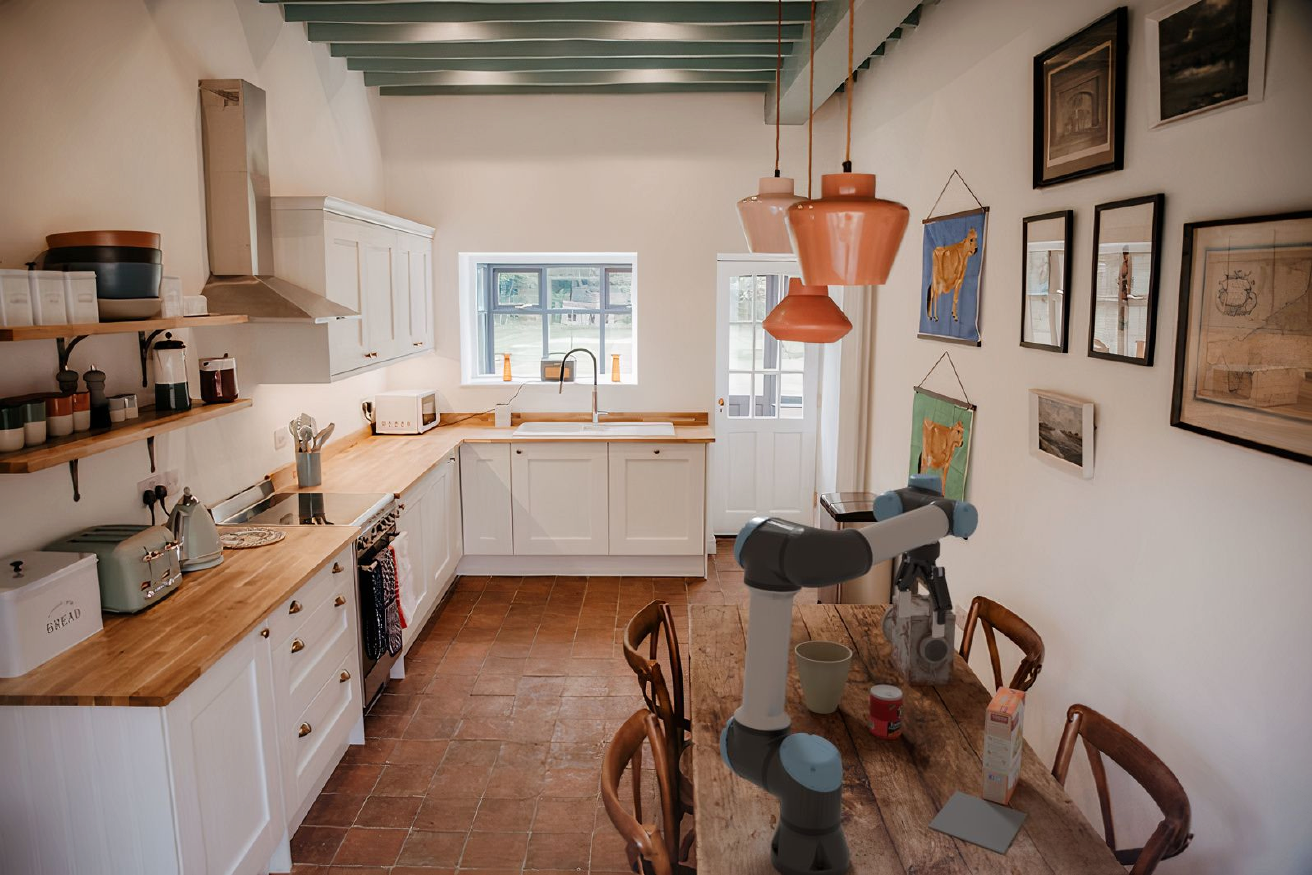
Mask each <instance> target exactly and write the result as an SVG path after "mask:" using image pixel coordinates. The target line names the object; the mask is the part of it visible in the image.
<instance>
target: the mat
mask: <svg viewBox="0 0 1312 875" xmlns="http://www.w3.org/2000/svg"><path fill="white" fill-rule="evenodd" d="M1027 817H1028V813H1025V812H1022V811H1019V810H1016V809H1013V808H1010V807H1007V806H1005V805H1002V804H999V803H996V802H992V801H989V800H986V799H982V798H981V797H976V796H973V795H970V794H967V793H964V792H961V791H959V790H955V791H954V793H953V794H952V796H951V797H950V798H949V799H948V800H947V802H945V804H944V805H943V807H942V808H941V809H940V811H939V812H938V813H937V814H936V816H935V817H934V818H933V820H932V821H931V822H930V824H929V825H928V828H929V829H932V830H934V831H937V832H940V833H943V834H946V835H948V836H951V837H954V838H956V839H959V840H962V841H964V842H967V843H970V844H973V845H976V846H979V847H981V848H985V849H987V850H989V851H993V852H996V853H998V854H1001V855H1005V853H1006V852H1007V850H1008V848H1009V846H1010V845H1011V843H1012V842H1013V840H1014V838H1015V837H1016V835H1017V833H1018V832H1019V831H1020V829H1021V827H1022V825H1023V823H1024V821H1025V820H1026V818H1027Z"/></svg>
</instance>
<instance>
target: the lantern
mask: <svg viewBox="0 0 1312 875" xmlns="http://www.w3.org/2000/svg"><path fill="white" fill-rule="evenodd" d="M931 579H933V577H932V578H931ZM919 584H920V585H921V586H922V587H923V588H925V590H926V591H928V588H927V585H926V584H924V583H923V580H921V579H920V578H916V580H915V581H914V582H913V584H912V585H911V586H910V587H911V589H908V590H910V591H911V610H910V617H905V618H900V617H899V594H898V595H893V596H892V605H890V606H889V607H888V608H887V609H886V611H885V612H884V614H883V615H882V616H883V617H882V620H881V622H880V627H881V630H882V634H883V636H884V637H885V639H886V640H887V641H888V642H889V643H890V644H891V646H890V647H891V649H890V663H892V665H893V667H894V668H895V669H896V671H897V672H898V673H899V675H900V677H902V679H903V680H904V681H905V683H906V684H907V686H908V687H935V686H937V687H938V686H939V687H940V686H953V684H954V682H953V681H954V663H955V662H954V660H955V659H954V658H955V636H956V622H957V615H956V614H955V613H954V612H953V611H952V610H948V611H946V621H945V626H944V637H937V638H933V637H932V626H933V610H934V609H935V606H934V604H933V601H932V598H931V596H930V593H929V592H928V594H921V593H919ZM908 590H907V591H908ZM939 606H940V604H939Z"/></svg>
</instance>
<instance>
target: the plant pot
mask: <svg viewBox="0 0 1312 875" xmlns="http://www.w3.org/2000/svg"><path fill="white" fill-rule="evenodd" d="M794 652H795V653H794V654H795V661H796V662H795V663H796V669H797V675H798V679H799V684H800V687H801V690H802V693H803V697H804V700H805V703H806V705H807V708H808V710H810V712H813V713H817V714H824V715H827V714H832V713H834V712H836V710H837V708H838V705H839V704H840V701H841V698H842V696H843V694H844V690H845V689H846V688H845V687H846V684H847V680H848V678H849V677H848V676H849V673H850V668H851V664H852V658H853V650H851V649H850V648H849V647H847V646H846V645H844V644H842V643H838V642H833V641H828V640H827V641H825V640H810V641H805V642H801V643H798V644H797V645H796V646H795V647H794Z"/></svg>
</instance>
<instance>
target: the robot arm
mask: <svg viewBox="0 0 1312 875" xmlns="http://www.w3.org/2000/svg"><path fill="white" fill-rule="evenodd" d="M872 513H873V516H874V518H875V519H876V521H877V522H876V523H873V524H869V525H867V526H865V527H862V528H859V529H856V528H854V527H846V528H842V529H839V530H830V529H829V530H828V529H821V528H817V527H814V526H808V525H805V524H801V523H797V522H793V521H790V520H786V519H782V518H781V517H777V516H775V517H774V516H768V515H759V516H756V517H754V518H752V519H750V520H749V521H748V522H746V523H745V524H744V526H743V527H741V529H740V530H739V532H738V534H737V536H736V537H735V538H736V539H735V541H734V545H733V556H734V559H735V560H734V561H736V563H737V566H739V567H740V568H741V569H742V570H744V573H743V574H744V575H743V585H744V586H745V588H746V589H748V591H749V592H750V594H749V608H748V609H749V610H748V619H747V620H748V621H747V622H748V623H747V635H746V636H747V637H746V648H745V662H744V674H743V686H742V687H743V688H742V689H743V690H742V702H741V703H742V704H741V705H740V706H739V707H738V708H736V709H735V711H734V713H733V715H732V716H731V717H730V718H729V719H728V720H727V722H726V723H725V728H722V731H721V734H720V738H719V752H720V756H721V758H722V761H723V762H724V764H725V766H726V767H727V768H728V769H730V770H731V771H732V772H733V773H735V774H736V775H737V776H738V777H739V778H741V779H744V780H746V781H748V782H750V783H752V784H753V785H755V786H757V787H759V788H760V789H762V790H764V792H767V793H769V794H770V795H772V796H773V797H775V798H778V799H779V820H778V823H777V826H776V828H775V831H774V834H773V836H772V839H771V841H770V842H771V843H770V861H771V864H772V866H773V867H774V868H775V869H776V870H777V871H778V872H779V873H780V874H781V875H845V874H846V873H847V872H848V870H849V868H850V857H851V856H850V848H849V845H848V842H847V840H846V836H845V833H844V830H843V827H842V804H843V803H842V802H843V801H842V800H843V799H842V798H843V782H844V781H843V780H844V769H843V760H842V756H841V753H840V751H839V749H838V748H837V746H835V745H834V744H833V743H832V742H830V741H829V740H828V739H826V738H824V737H822V736H820V735H818V734H812V735H810V734H808V732H807V733H806V732H799V733H796V732H795V733H792V734H791V728H792V727H791V726H792V718H791V716H790V715H789V714H788V713H787V711H786V710H785V706H786V694H787V684H788V682H787V681H788V671H789V670H788V669H789V657H790V655H789V654H790V646H791V645H790V644H791V631H792V619H793V607H794V606H793V605H794V597H795V596H796V595H797V594H798V593H799V592H801V591H802V589H803V588H806V589H807V588H808V589H820V588H825V587H830V586H836V585H840V584H843V583H847V582H850V581H852V580H856V579H858V578H861V577H863V576H865V575H867V574H868V573H869V572H871V569H872V568H873V566H876V565H878V564H881V563H883V562H885V561H888V560H891V559H893V558H895V557H898V556H901V561H900V564H899V566H898V568H897V572H896V575H895V578H894V580H893V585H894V586H895V587H897V590H898V592H899V594H898V595H899V617H900V618H905V617H910V610H911V591H910V590H908V589H911V587H910V586H911V585H912V584H913V582H914V581H915V580H916V578H920V579H921V580H923V583H924V584H926V585H927V588H928V590H927V591H928V594H929V593H930V596H931V598H932V601H933V604H934V606H935V609H934V610H933V626H932V637H933V638H937V637H944V626H945V621H946V611H948V610H951V611H952V610H953V608H954V607H953V603H952V599H951V595H950V592H949V586H948V582H947V579H946V567H944V566H937V563H936V561H937V560H938V559H939V558H940V555H941V542H940V540H941V539H943V538H945V537H946V538H947V537H949V536H953V537H955V538H964V539H965V538H969V537H971V536H972V535H973V534H974V533H975V531H976V530H977V527H978V523H979V514H978V509H977V508H976V506H975V505H974V504H972V503H970V502H966V501H962V500H960V499H953V498H952V499H951V498H946V497H943V480H942V478H941V476H939V475H936V474H932V473H914V474H911V475H910V476H909V477H908V483H907V486H906V487H903V488H902V487H901V488H899V489H894V490H891V489H890V490H887V491H885V492H883V493H880V494H878V495H876V497H875V498H874V500H873V502H872ZM932 577H933V579H931V578H932ZM939 604H940V606H939Z"/></svg>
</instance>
